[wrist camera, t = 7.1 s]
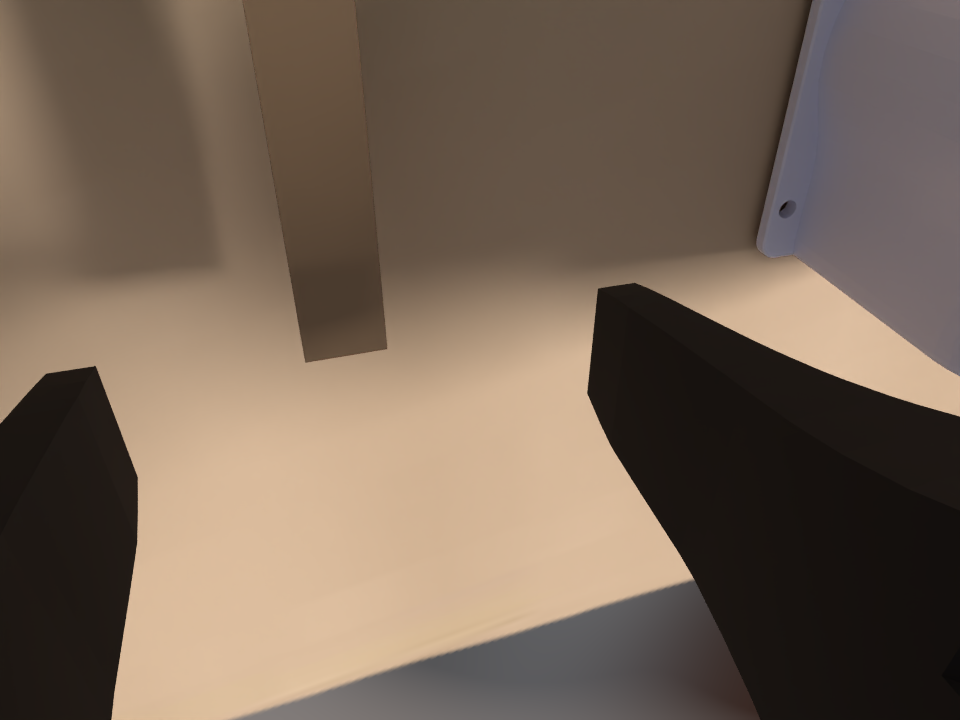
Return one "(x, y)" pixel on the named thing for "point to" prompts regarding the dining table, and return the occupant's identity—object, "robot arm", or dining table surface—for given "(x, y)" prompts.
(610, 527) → the dining table surface
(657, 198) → the dining table surface
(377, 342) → the pot
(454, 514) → the dining table surface
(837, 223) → the robot arm
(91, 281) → the dining table surface
